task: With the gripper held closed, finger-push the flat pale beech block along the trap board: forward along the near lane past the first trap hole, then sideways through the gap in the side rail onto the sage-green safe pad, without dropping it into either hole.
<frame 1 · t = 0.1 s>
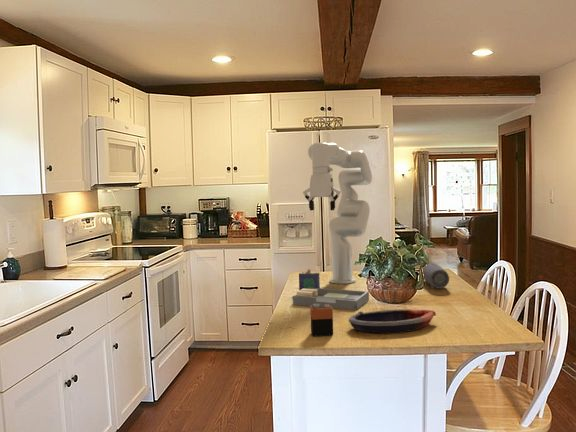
hand: (322, 210, 222), 37 cm above the countertop, tool pointing down, fingers open, 9 cm apart
beech block: (307, 297, 208), point 2 cm above the countertop, touching trap board
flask: (309, 293, 225), on the countertop
bluetooth speaker: (433, 285, 232), on the countertop
dish: (393, 328, 171), on the countertop
trap board: (331, 302, 207), on the countertop
battery: (322, 334, 166), on the countertop
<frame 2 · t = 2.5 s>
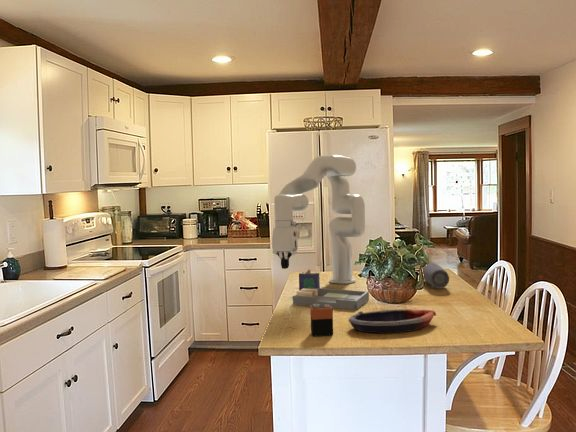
hand: (285, 268, 211), 14 cm above the countertop, tool pointing down, fingers closed
nothing on the countertop moved.
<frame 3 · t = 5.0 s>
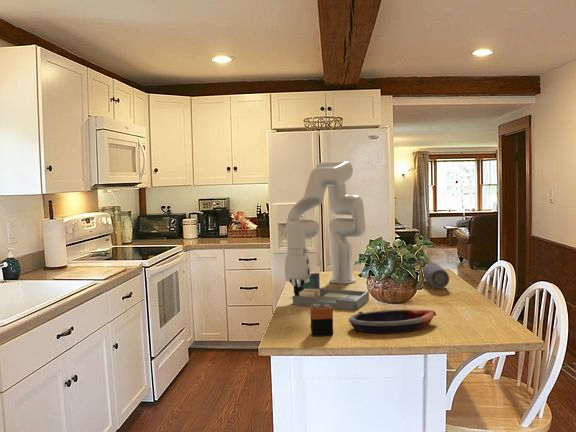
hand: (298, 295, 209), 3 cm above the countertop, tool pointing down, fingers closed
beech block: (309, 298, 207), point 2 cm above the countertop, touching gripper
everything else where it was.
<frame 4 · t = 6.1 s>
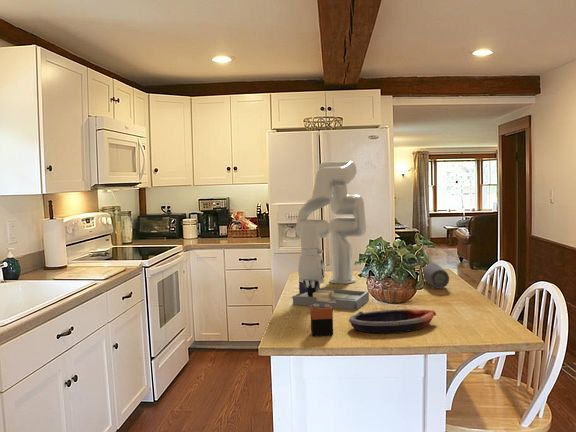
hand: (311, 296, 207), 3 cm above the countertop, tool pointing down, fingers closed
beech block: (323, 299, 204), point 2 cm above the countertop, touching gripper
everything else where it was.
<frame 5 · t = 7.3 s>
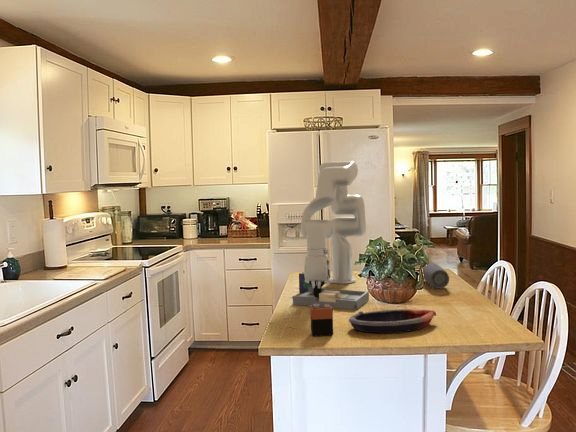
hand: (317, 297, 206), 3 cm above the countertop, tool pointing down, fingers closed
beech block: (329, 299, 203), point 2 cm above the countertop, touching gripper, trap board
everything else where it was.
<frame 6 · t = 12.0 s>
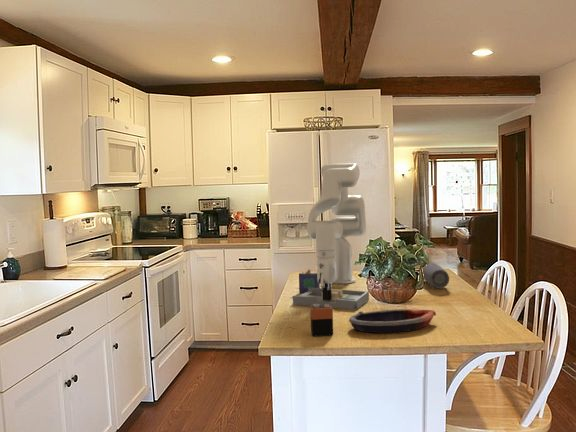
hand: (327, 299, 201), 3 cm above the countertop, tool pointing down, fingers closed
beech block: (332, 298, 206), point 2 cm above the countertop, touching gripper, trap board
everything else where it was.
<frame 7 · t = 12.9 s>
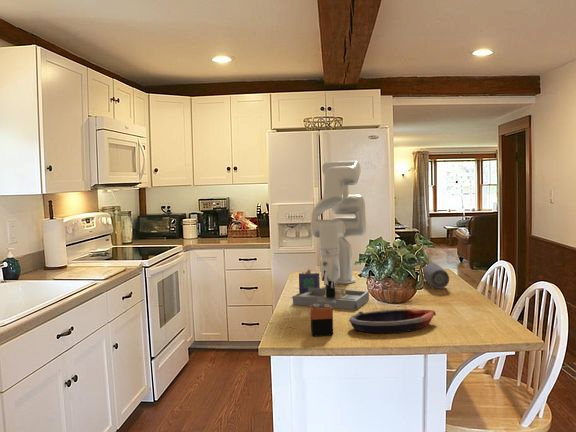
hand: (330, 297, 204), 3 cm above the countertop, tool pointing down, fingers closed
beech block: (335, 296, 209), point 2 cm above the countertop, touching gripper
everything else where it was.
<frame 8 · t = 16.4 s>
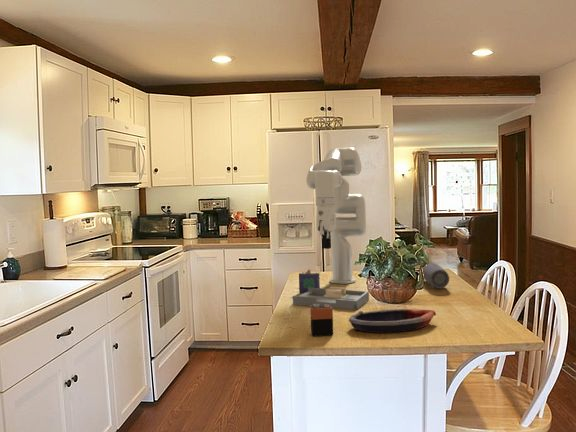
hand: (326, 248, 200), 23 cm above the countertop, tool pointing down, fingers closed
beech block: (336, 295, 209), point 2 cm above the countertop, touching trap board
everything else where it was.
at the end: beech block inside the target area (0.4 cm from its centre), point 2.0 cm above the countertop; beech block tilted 0° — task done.
